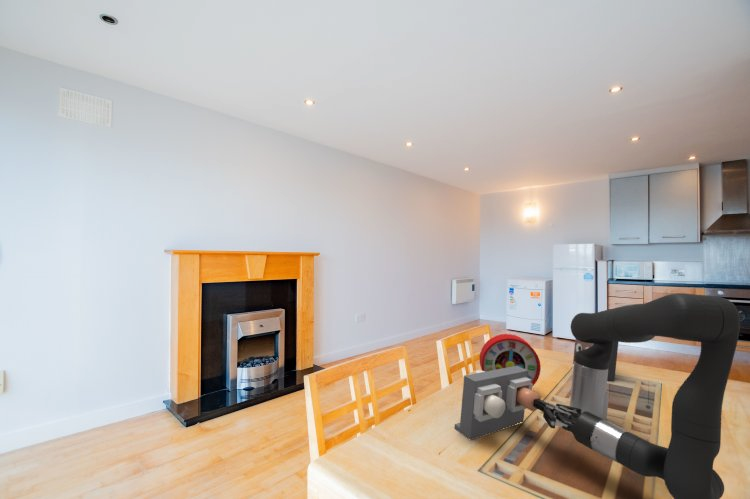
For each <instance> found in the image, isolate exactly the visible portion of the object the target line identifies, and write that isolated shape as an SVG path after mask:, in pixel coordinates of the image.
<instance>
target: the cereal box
mask: <svg viewBox="0 0 750 499" xmlns="http://www.w3.org/2000/svg"><path fill="white" fill-rule="evenodd" d="M592 345H593V343H585V342H581V341H579V340H577V339H576V338H575V337H574V349H573V359H572V360H573V361H572V365H573V364H574V357H575V353H576V352H577V351H580V350H585V349H587V348H590V347H591V346H592ZM618 350H619V342H616V341H614V344H613V350H612V357H611V361H610V363H609V368H608V377H607V382H615V377H616V371H617V360H618Z"/></svg>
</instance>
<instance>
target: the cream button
mask: <svg viewBox="0 0 750 499" xmlns="http://www.w3.org/2000/svg"><path fill="white" fill-rule="evenodd" d="M483 411H485V412H486V413H488V414H490V415H491V416H493V417H494V418H499V417H501V416H502V415H503V413H504V411H505V402H504V400H502V399H501V398H499V397H497V396H495V395H493V394H488V395H484V405H483Z"/></svg>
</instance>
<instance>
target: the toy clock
mask: <svg viewBox="0 0 750 499" xmlns="http://www.w3.org/2000/svg"><path fill="white" fill-rule="evenodd" d="M479 365H480V369H481V371H485V372H486V371H491V370H497V369H502V368H507V367H513V366H519V367H521V368H523V369H526V370H528V378H529V379H531V384H533V385H532V387H533V386H535V384H536V383H537V382H538V380H539V378H540V375H541V367H542V366H541V365H542V364H541V361H540V358H539V355H538V354H537V352H536V351H535V350H534V348H533V347H532V346H531V344H529V343H528V342H527V341H526V340H525V339H524V338H522V337H520V336H518V335H515V334H511V333H502V334H498V335H495V336H493V337H491V338H490V339H488V340H487V341H486V342H485V343H484V344H483V345H482V347H481V351H480V352H479Z"/></svg>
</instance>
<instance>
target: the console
mask: <svg viewBox="0 0 750 499" xmlns="http://www.w3.org/2000/svg"><path fill="white" fill-rule="evenodd" d="M532 385H533V384H531V379H529V378H528V370H526V369H523V368H521V367H519V366H513V367H507V368H502V369H497V370H491V371H486V372H481V373H476V372H475V373H472V374H471V373H470V374H466V375H463V386H462V398H461V410H460V421H459V422H457V423H454V429H455V430H456V431H457V432H458V433H460V434H461V435H463V437H465V438H467V439H468V440H469V439H470V440H469V441H471V440H474V439H477V437H478V438H480V436H481V437H484V436H486V434H487V435H490V434H493V433H496V432H499V431H498V430H500V431H502V430H501V429H503V428H506V427H509V426H512V425H515V424H517V423H520V422H523V423H524V422H525V421H524V420H525V411H526V409H527V408H525V407H524V406H522V405H520V404H518V403H517V402H516V392H517V390H518V389H519V388H520V387H525V388H528V389H530V390H532V391H533V386H534V385H533V386H532ZM488 394H493V395H495V396H497V397H499V398H501V399H502V400H504V402H505V411H504V413H503V415H502V416H501V417H499V418H494V417H493V416H491V415H490V414H488V413H486V412H485V411H483V405H484V395H488ZM527 410H528V409H527ZM515 426H516V425H515ZM512 427H513V426H512ZM509 428H510V427H509ZM506 429H507V428H506ZM503 430H504V429H503ZM495 431H496V432H495ZM492 432H493V433H492ZM489 433H490V434H489ZM483 435H484V436H483Z"/></svg>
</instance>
